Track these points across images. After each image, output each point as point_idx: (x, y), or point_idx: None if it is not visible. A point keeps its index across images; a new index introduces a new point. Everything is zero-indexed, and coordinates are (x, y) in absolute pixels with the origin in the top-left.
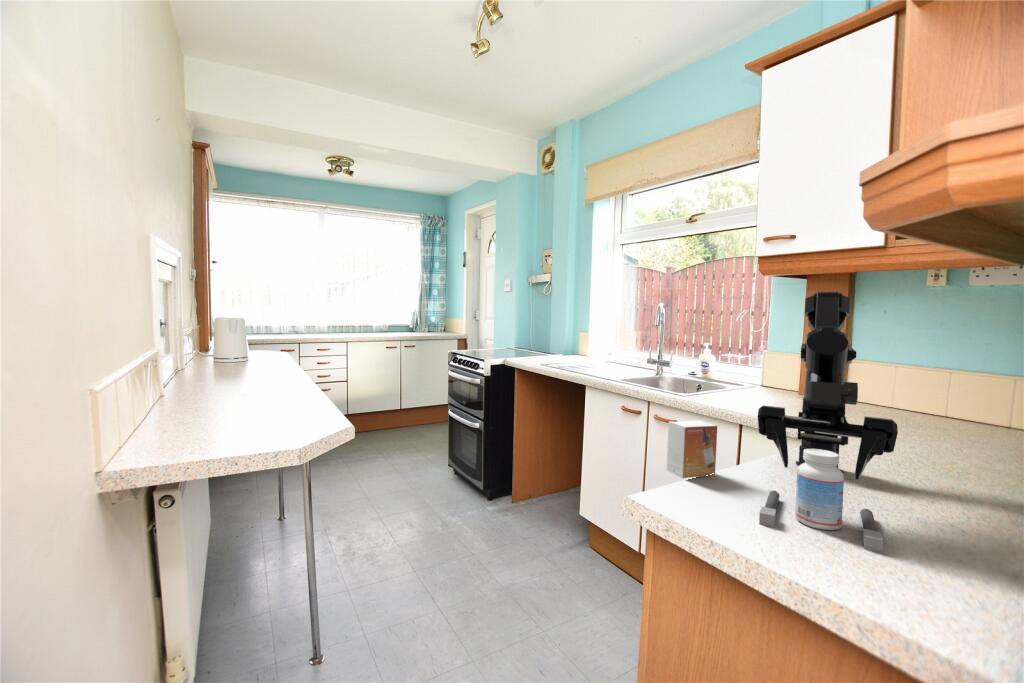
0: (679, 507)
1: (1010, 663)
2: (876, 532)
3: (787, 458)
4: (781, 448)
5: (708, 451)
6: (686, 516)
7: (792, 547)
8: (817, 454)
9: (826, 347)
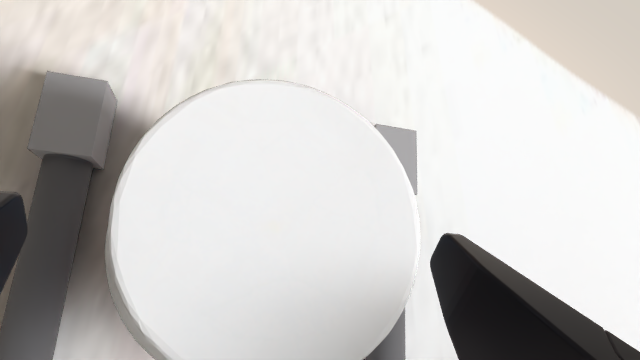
0: (581, 153)
1: None
2: (48, 138)
3: (469, 252)
4: (558, 299)
5: None
6: (550, 101)
7: (314, 26)
8: (317, 114)
9: None
